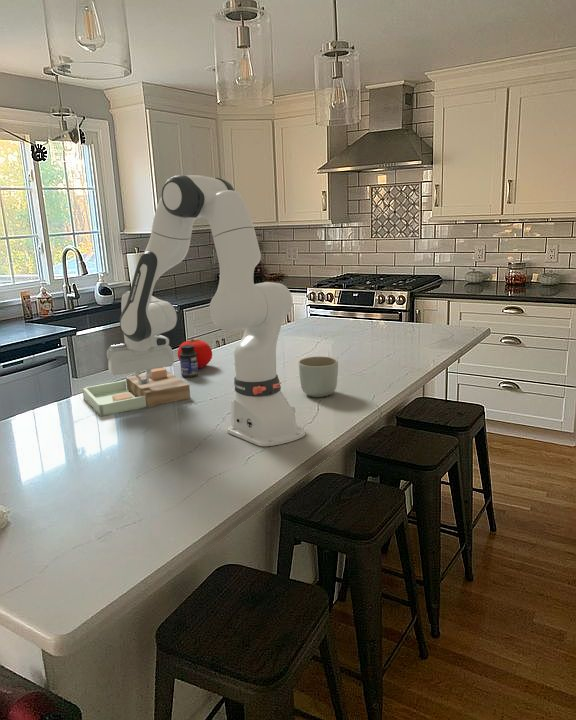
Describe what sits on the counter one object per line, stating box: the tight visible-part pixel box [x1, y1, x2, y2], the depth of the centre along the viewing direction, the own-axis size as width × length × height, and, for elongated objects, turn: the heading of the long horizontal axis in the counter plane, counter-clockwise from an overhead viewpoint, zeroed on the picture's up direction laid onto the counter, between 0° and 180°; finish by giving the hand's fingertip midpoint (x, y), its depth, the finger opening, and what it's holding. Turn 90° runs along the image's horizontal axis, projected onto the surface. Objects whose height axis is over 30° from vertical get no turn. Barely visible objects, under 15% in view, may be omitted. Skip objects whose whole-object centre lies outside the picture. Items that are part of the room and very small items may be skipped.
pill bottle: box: [179, 345, 199, 378], centre depth 214 cm, size 6×6×11 cm
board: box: [125, 370, 191, 408], centre depth 195 cm, size 22×14×4 cm, turn 31°
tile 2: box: [150, 367, 168, 379], centre depth 199 cm, size 5×5×2 cm
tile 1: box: [112, 393, 133, 402], centre depth 185 cm, size 5×5×2 cm
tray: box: [81, 379, 147, 417], centre depth 188 cm, size 22×14×4 cm, turn 31°
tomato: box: [177, 338, 213, 369], centre depth 225 cm, size 12×13×11 cm
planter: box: [298, 356, 339, 398], centre depth 187 cm, size 12×12×11 cm
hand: (143, 383), depth 187 cm, fingers closed
